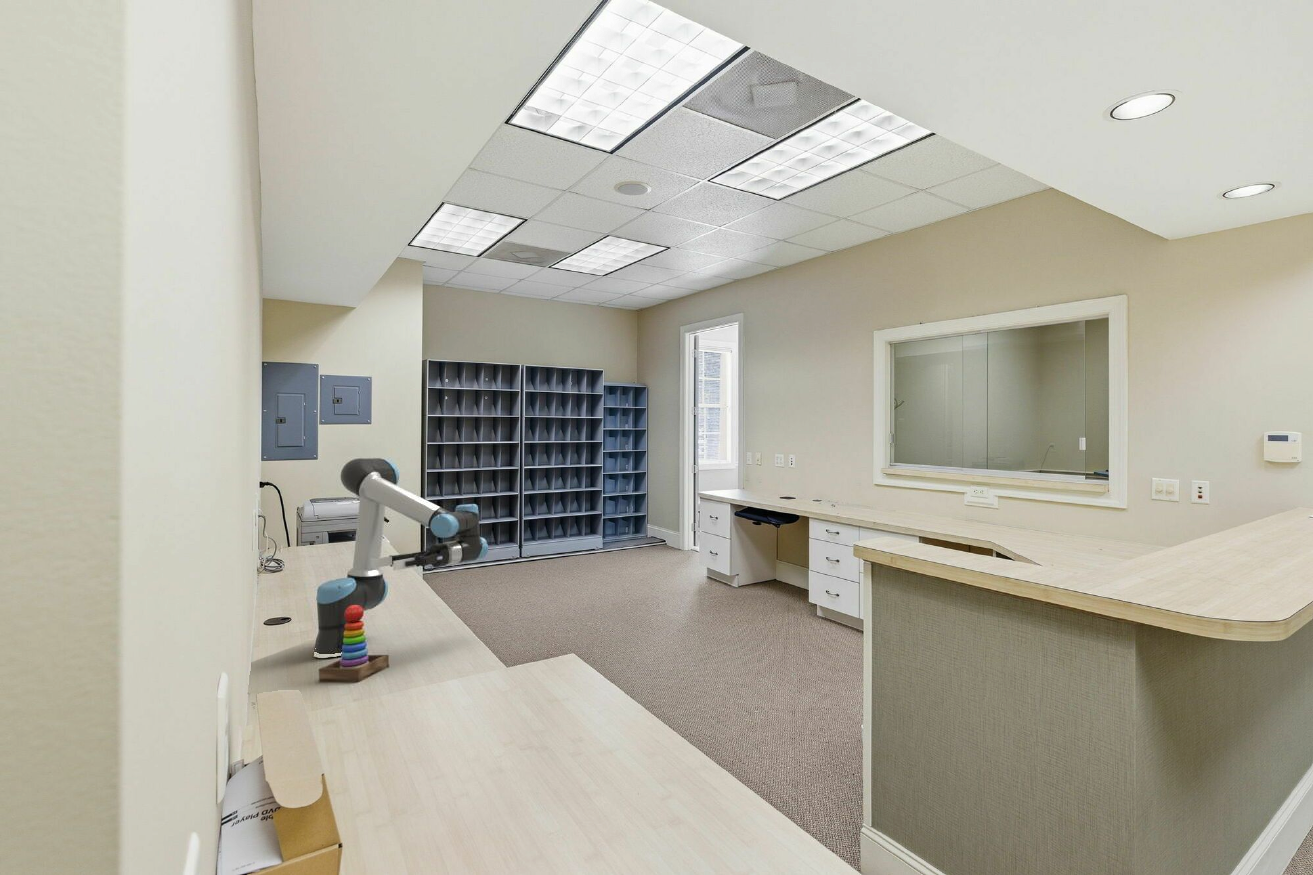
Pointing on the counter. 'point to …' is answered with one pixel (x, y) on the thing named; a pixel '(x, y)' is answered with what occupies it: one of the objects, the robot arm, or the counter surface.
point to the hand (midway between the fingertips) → (382, 564)
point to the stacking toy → (354, 639)
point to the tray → (353, 670)
